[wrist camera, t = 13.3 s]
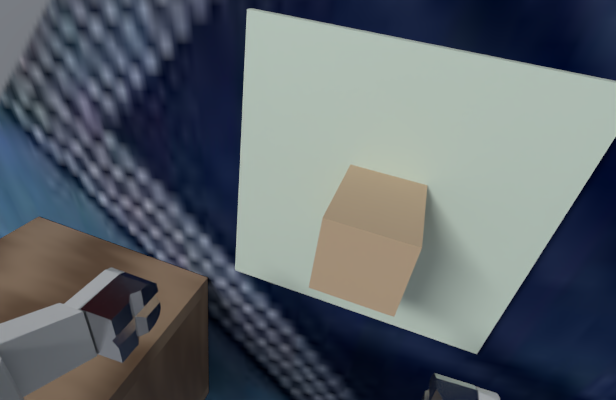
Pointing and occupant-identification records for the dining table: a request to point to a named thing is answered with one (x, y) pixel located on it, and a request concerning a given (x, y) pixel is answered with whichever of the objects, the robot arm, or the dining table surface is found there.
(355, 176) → the lid
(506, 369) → the dining table surface
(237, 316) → the dining table surface
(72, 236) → the box
